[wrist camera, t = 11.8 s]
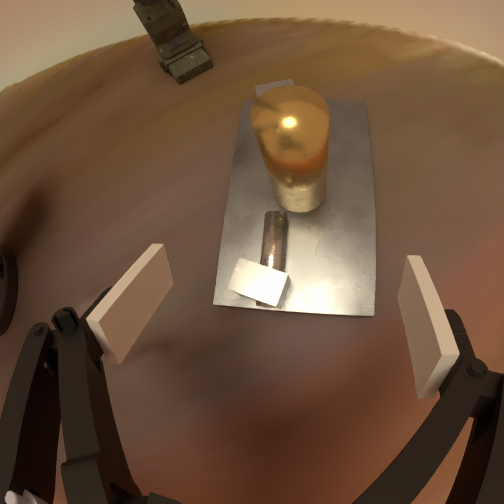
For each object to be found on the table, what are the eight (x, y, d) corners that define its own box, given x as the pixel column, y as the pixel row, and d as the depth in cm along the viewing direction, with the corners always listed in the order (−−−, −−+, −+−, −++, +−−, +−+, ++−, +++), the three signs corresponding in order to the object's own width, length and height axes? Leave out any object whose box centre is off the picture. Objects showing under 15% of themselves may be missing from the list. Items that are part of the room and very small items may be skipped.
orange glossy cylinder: (267, 206, 28) (240, 137, 18) (280, 161, 29) (261, 82, 19) (320, 217, 27) (322, 148, 16) (330, 170, 28) (333, 90, 17)
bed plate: (371, 316, 25) (382, 313, 20) (217, 305, 28) (199, 300, 23) (363, 108, 30) (367, 80, 26) (245, 107, 33) (236, 81, 29)
